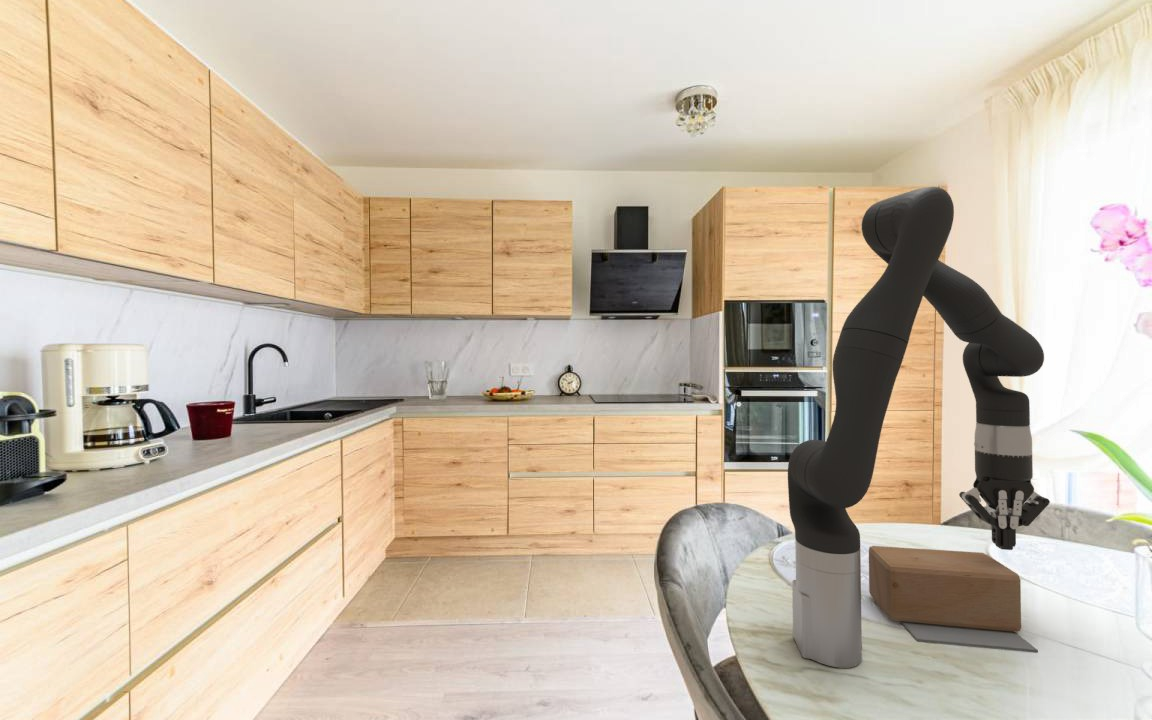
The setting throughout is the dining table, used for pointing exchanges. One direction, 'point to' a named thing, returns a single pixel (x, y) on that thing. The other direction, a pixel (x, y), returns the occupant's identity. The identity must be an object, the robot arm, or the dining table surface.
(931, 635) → the mat
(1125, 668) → the dining table surface
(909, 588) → the wooden block
